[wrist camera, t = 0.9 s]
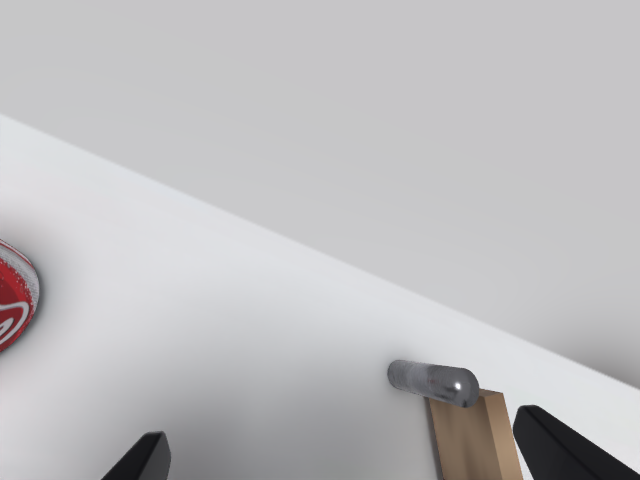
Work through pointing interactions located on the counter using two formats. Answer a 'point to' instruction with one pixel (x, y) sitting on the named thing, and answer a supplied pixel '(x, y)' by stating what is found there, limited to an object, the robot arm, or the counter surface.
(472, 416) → the gate leaf
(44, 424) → the counter surface
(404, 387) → the gate frame
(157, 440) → the robot arm
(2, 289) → the soda can
